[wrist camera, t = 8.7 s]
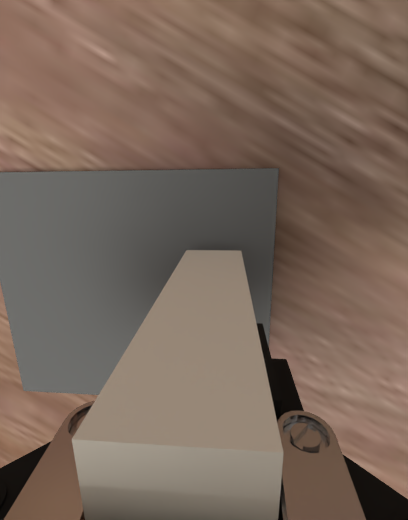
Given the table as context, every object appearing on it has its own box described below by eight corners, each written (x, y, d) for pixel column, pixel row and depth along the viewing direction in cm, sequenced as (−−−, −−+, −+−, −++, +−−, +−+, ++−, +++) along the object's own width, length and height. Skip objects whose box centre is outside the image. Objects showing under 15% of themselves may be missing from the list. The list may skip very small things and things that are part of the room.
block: (241, 250, 13) (283, 453, 3) (237, 382, 15) (258, 762, 5) (184, 250, 13) (63, 439, 3) (188, 379, 15) (116, 740, 5)
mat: (276, 169, 15) (278, 168, 14) (263, 394, 18) (265, 403, 18) (-11, 173, 16) (-23, 172, 15) (31, 382, 20) (23, 390, 19)
